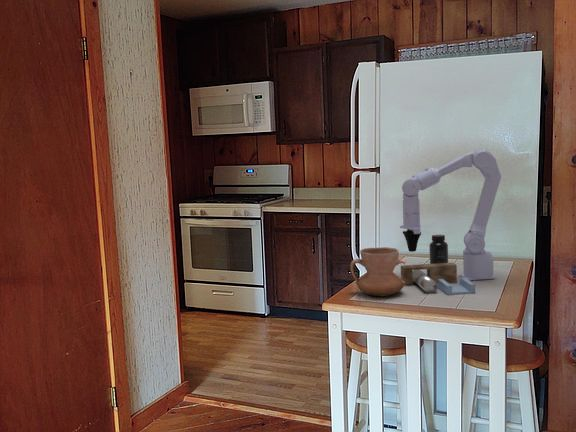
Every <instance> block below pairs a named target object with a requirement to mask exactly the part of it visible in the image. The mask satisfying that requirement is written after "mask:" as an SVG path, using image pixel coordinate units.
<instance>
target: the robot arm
mask: <svg viewBox="0 0 576 432" xmlns="http://www.w3.org/2000/svg"><path fill="white" fill-rule="evenodd" d="M473 167H475V168H476V169H478V170H479V171H480V173H481V175H482V177H483V178H484V182H483V185H482V188H481V191H480V195H479V199H478V201H477V206H476V209H475V212H474V215H473V219H472V221H471V225H470V226H469V230H468V232H467V233H465V235H464V236H463V243H464V245H465V249H463V252H462V253H463V255H462V256H463V258H462V259H463V263H462V264H463V273H459V274H458V275H459V276H460V277H461V278H466V279H468V280H469V281H477V280H479V281H480V280H494V279H495V276H494V257H493V254H492V252H491V251H486V250H485V247H486V242H485V236H486V233H487V232H486V231H487V230H486V229H487V225H488V223H489V219H490V215H491V212H492V208H493V206H494V202H495V199H496V196H497V192H498V190H499V186H500V184H501V183H500V182H501V178H502V175H501V171H500V168H499V165H498V163H497V159H496V157H495V156H494V155H493V154H492V153H491V151H489V150H487V149H483V148H482V149H481V148H480V149H476V150H475V151H473V152H472V151H471V152H469V153H466V154H463V155H461V156H459V157H457V158H454V159H453V160H451V161H449V162H447V163H446V164H444V165H442V166H440V167H438V168H435V167H430V168H429V167H426V168H424V171H422V172H420V173H418V174H417V175H415V174H413V175H412V176H411V178H408V179H406V180H405V181H403V183H402V186H401V190H402V192H403V193H402V220H403V221H402V222H403V223H402V225H399V228H400V229H404V230H403V231H402V234H403V237H404V239H405V242H406V246H407V249H408V252H410V253H411V252H412V253H413V252H416V251H417V248H418V242H419V239H420V237H421V235H422V232H421V221H420V220H421V217H420V215H421V214H420V199H419V192H420V191H424V190H427V189H428V188H430V187H432V186H434V185H437V184H439V183H440V181H441V178H442V177H444V176H446V175H448V174H451V173H454V172H455V171H457V170H459V169H461V168H473ZM405 229H406V230H405Z"/></svg>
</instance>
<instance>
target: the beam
mask: <svg viewBox="0 0 576 432" xmlns="http://www.w3.org/2000/svg"><path fill="white" fill-rule="evenodd" d="M457 266H458V265H457V264H456V263H454V262H448V263H436V264H430V263H424V264H407V265H406V264H403V265H400V278H401V279H402V280H403V281H404V282H405V285H404V287H406V286H413V285H414V281H413V270H421V271H422V270H426V275H427V276H429V277H430V278H431V279H432V280H434V281H435V282H436V283H437V285H438V279H443V280H445V281H446V282H447V283H449V284H450V283H451V284H452V283H454V284H455V283H457V282H458V280H457V279H458V276H457V275H458V271H457V269H458V268H457Z"/></svg>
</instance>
